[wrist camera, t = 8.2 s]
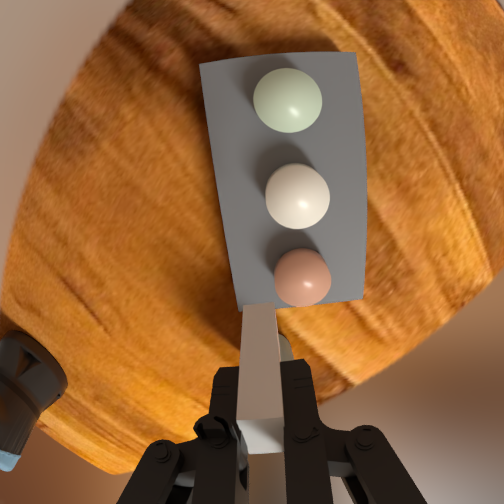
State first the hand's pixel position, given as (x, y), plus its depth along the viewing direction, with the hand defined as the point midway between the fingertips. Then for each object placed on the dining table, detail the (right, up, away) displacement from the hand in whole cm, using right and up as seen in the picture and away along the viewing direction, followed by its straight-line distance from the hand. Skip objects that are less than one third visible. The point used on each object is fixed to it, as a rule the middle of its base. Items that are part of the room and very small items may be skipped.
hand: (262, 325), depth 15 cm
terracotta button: (+4, +3, +12) cm, 13 cm away
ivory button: (+3, +9, +9) cm, 13 cm away
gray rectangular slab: (+3, +10, +11) cm, 15 cm away
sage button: (+2, +15, +6) cm, 17 cm away
